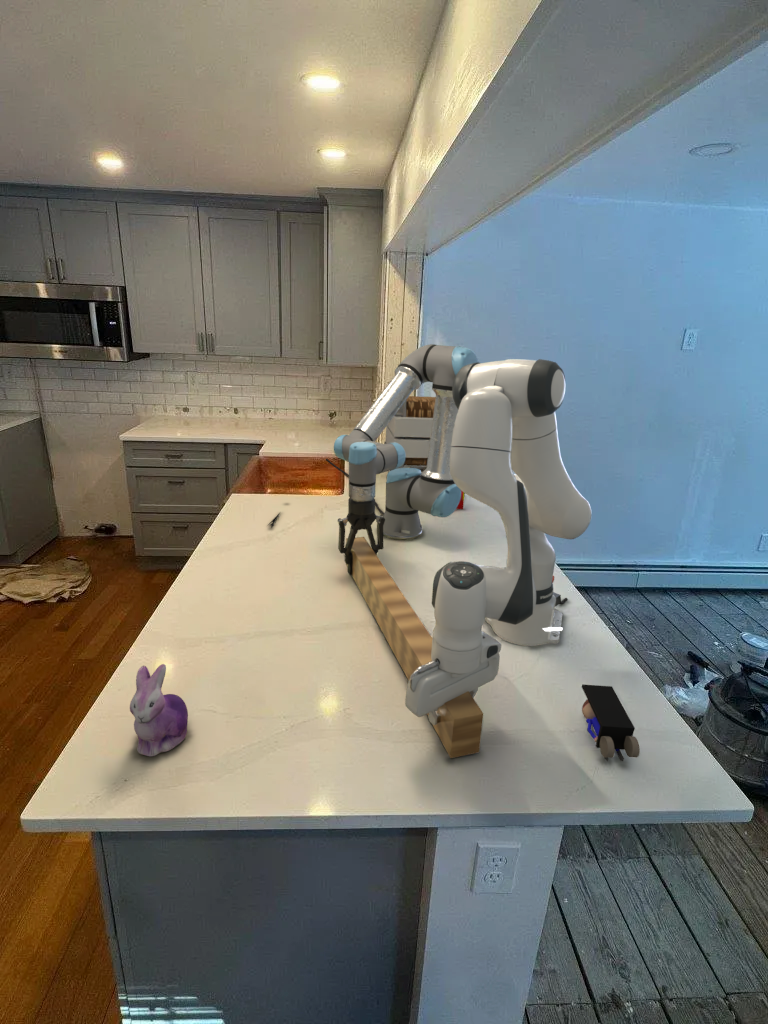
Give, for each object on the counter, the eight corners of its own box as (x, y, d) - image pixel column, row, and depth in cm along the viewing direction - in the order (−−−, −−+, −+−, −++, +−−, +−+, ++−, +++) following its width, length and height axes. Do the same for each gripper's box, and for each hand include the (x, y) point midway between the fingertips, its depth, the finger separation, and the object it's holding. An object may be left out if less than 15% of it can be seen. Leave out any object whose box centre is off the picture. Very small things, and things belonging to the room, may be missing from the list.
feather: (287, 506, 225) (290, 502, 224) (270, 530, 198) (272, 526, 198) (283, 504, 225) (286, 500, 224) (265, 527, 198) (268, 523, 197)
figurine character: (636, 775, 100) (605, 711, 114) (646, 744, 97) (613, 682, 111) (599, 774, 100) (572, 710, 114) (608, 744, 97) (579, 681, 110)
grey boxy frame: (382, 463, 289) (386, 382, 275) (445, 464, 293) (451, 384, 279) (390, 482, 257) (394, 392, 243) (460, 483, 261) (468, 394, 247)
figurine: (137, 767, 96) (127, 693, 90) (132, 728, 104) (122, 659, 99) (195, 750, 100) (189, 678, 95) (185, 714, 108) (179, 646, 103)
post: (345, 564, 173) (345, 538, 170) (363, 562, 174) (364, 536, 171) (450, 758, 100) (454, 719, 97) (479, 752, 102) (483, 713, 99)
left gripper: (331, 504, 153) (332, 581, 161) (397, 500, 158) (394, 574, 166) (326, 495, 159) (326, 569, 168) (389, 491, 165) (387, 563, 173)
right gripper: (423, 680, 93) (418, 747, 98) (507, 641, 105) (500, 702, 109) (399, 661, 98) (396, 725, 103) (483, 626, 109) (476, 685, 114)
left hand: (360, 572), depth 167 cm, fingers closed on post, 6 cm apart
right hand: (450, 713), depth 106 cm, fingers closed on post, 6 cm apart
